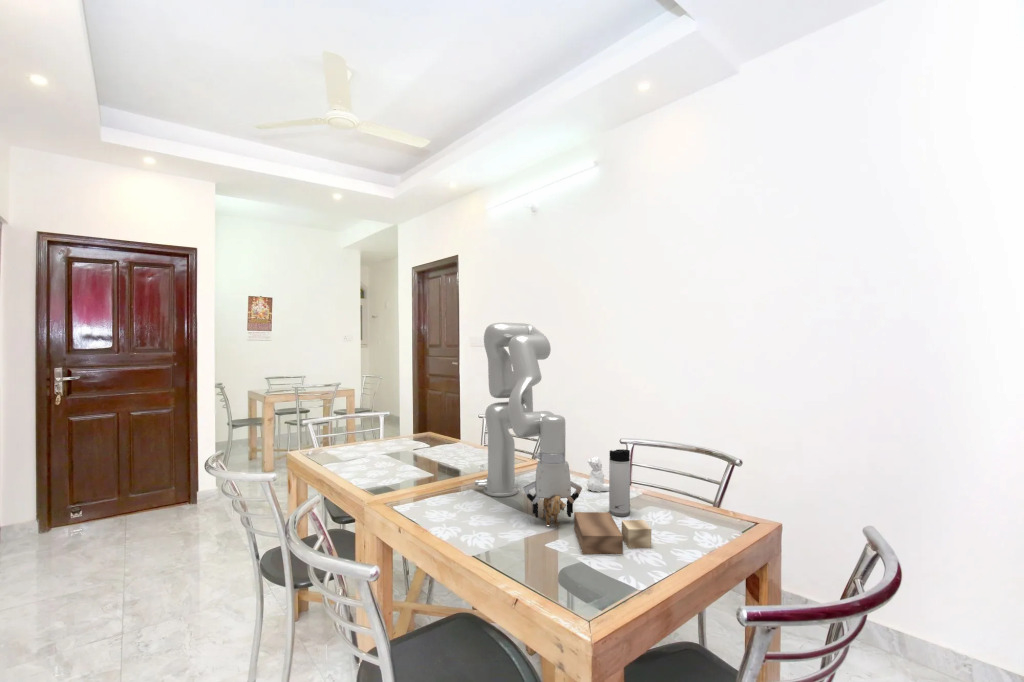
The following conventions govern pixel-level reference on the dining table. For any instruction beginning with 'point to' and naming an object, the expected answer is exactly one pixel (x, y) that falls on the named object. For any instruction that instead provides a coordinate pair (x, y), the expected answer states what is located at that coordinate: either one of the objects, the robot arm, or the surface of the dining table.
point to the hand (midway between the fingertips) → (552, 515)
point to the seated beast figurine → (596, 476)
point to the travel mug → (619, 482)
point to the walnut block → (597, 533)
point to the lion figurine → (552, 508)
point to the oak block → (636, 534)
